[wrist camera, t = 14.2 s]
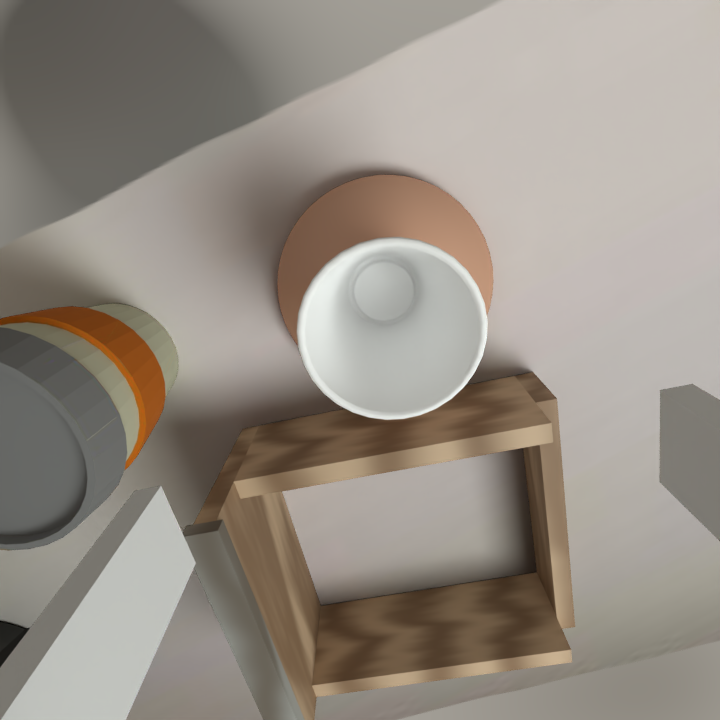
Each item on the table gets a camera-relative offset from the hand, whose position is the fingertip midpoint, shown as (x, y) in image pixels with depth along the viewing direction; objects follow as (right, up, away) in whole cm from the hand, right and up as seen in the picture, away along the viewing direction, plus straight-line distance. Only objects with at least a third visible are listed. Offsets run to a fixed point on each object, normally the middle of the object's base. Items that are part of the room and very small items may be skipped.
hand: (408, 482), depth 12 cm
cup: (0, +8, +22) cm, 24 cm away
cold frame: (+3, -11, +30) cm, 32 cm away
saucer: (+1, +9, +23) cm, 25 cm away
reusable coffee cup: (-21, +4, +25) cm, 33 cm away
